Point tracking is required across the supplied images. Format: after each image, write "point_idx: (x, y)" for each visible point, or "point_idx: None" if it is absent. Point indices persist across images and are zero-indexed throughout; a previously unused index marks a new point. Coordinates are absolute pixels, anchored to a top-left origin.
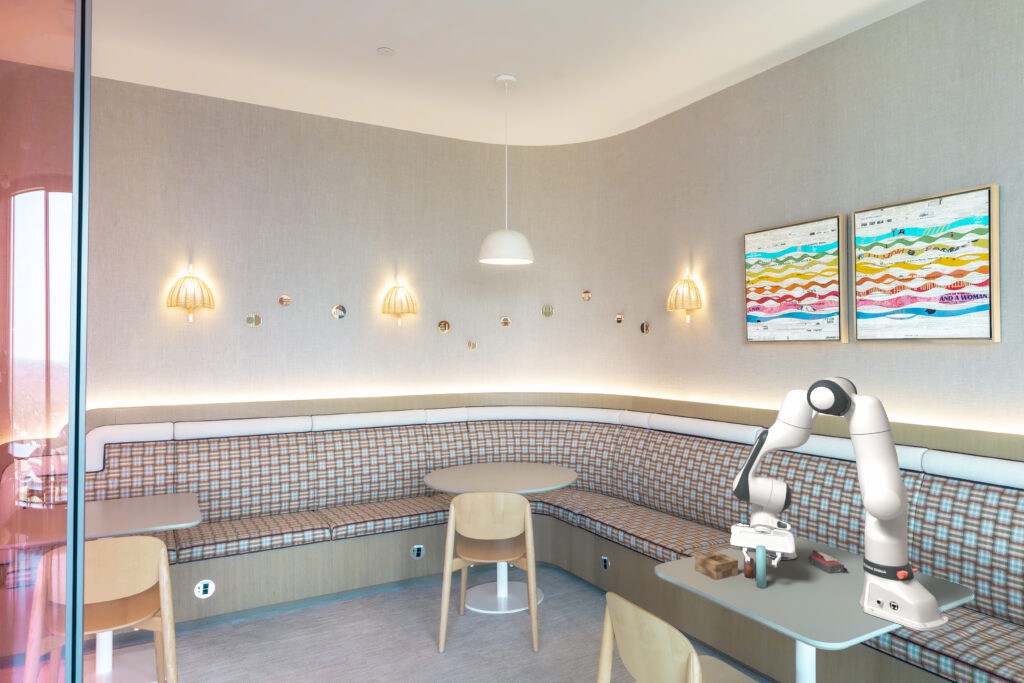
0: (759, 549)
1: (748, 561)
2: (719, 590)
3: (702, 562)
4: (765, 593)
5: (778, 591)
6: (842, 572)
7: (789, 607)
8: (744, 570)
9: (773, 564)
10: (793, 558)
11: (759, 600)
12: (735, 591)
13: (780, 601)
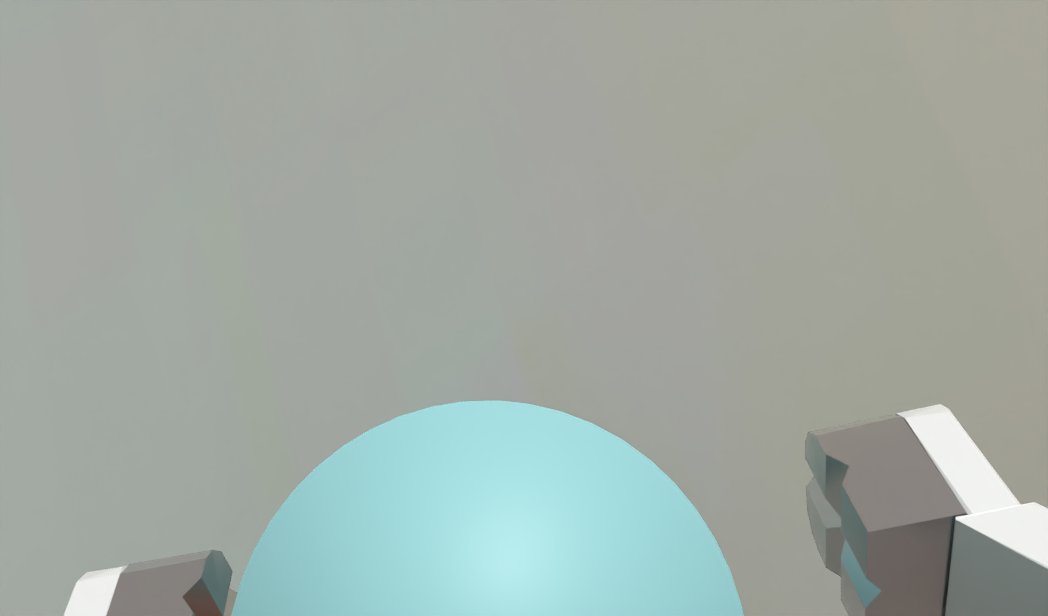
0: (483, 405)
1: (846, 426)
2: (1018, 3)
3: None
4: (416, 319)
5: None
6: None
7: (19, 52)
8: None
9: (159, 565)
10: None
11: (415, 23)
12: (811, 113)
13: (160, 168)
